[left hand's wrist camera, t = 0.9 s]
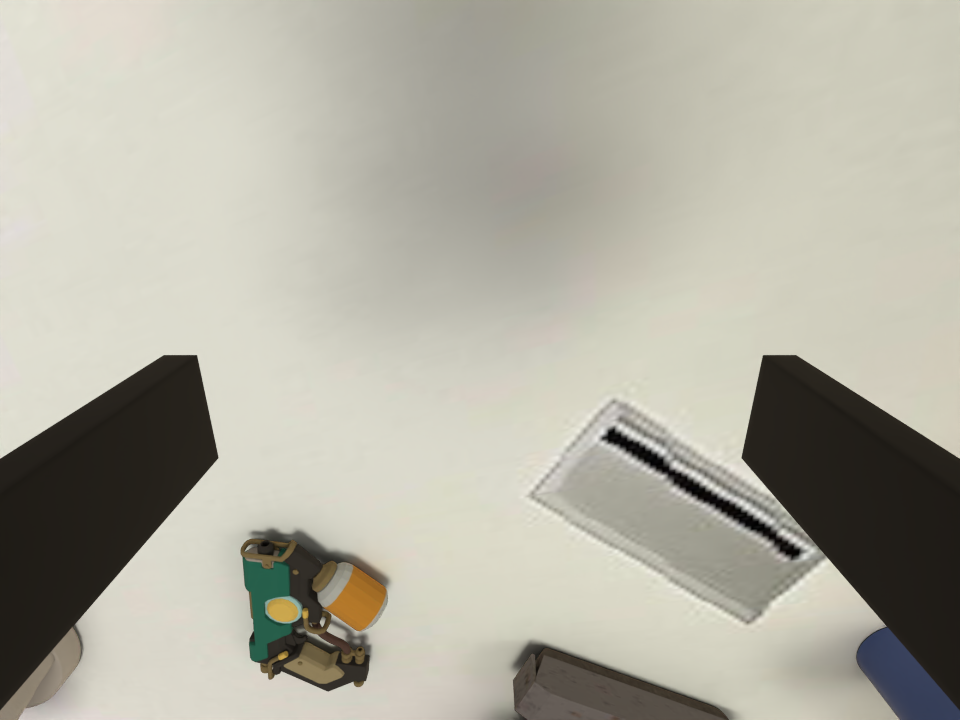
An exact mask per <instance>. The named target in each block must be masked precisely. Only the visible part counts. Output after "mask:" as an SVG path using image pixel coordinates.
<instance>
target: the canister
mask: <svg viewBox="0 0 960 720" xmlns="http://www.w3.org/2000/svg"><path fill="white" fill-rule="evenodd" d="M857 662H858V665H859V667H860V668H861V669H862V671H863V672H864V673H865V675H866V676H867V677H868V679H869V680H870V681H871V683H872V684H873V685H874V686H875V688H876V689H877V690H878V692H879V693H880V694H881V696H882V697H883V698H884V700H885V701H886V702H887V703H888V705H889V706H890V707H891V709H892V710H893V711H894V713H895V714H896V715H897V717H898V718H899V719H900V720H960V710H959V709H958V708H957V707H956V706H955V705H954V703H953V702H952V701H951V700H950V699H949V698H948V696H947V695H946V694H945V693H944V692H943V691H942V689H941V688H940V687H939V686H938V685H937V684H936V683H935V681H934V680H933V679H932V678H931V677H930V676H929V674H928V673H927V672H926V671H925V670H924V669H923V667H922V666H921V665H920V664H919V663H918V662H917V661H916V659H915V658H914V657H913V656H912V655H911V654H910V652H909V651H908V650H907V649H906V648H905V647H904V645H903V644H902V643H901V642H900V641H899V640H898V639H897V637H896V636H895V635H894V634H893V633H892V632H891V630H890V629H889V628H888V627H887V628H884V629H881V630H879V631H877V632H875V633H873V634H872V635H870V636H869V637H868V638H867V639H866V640H865V641H864V642H863V643H862V644H861V646H860V647H859V650H858V652H857Z"/></svg>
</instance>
